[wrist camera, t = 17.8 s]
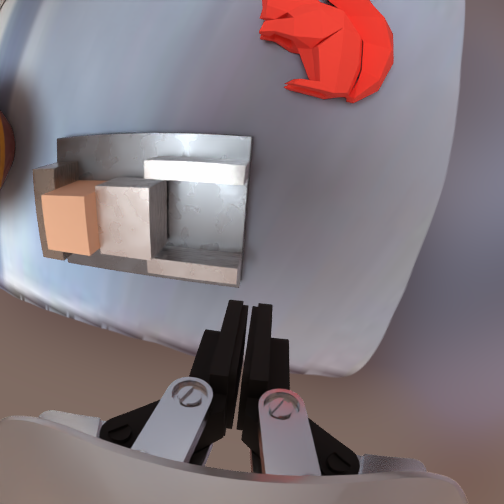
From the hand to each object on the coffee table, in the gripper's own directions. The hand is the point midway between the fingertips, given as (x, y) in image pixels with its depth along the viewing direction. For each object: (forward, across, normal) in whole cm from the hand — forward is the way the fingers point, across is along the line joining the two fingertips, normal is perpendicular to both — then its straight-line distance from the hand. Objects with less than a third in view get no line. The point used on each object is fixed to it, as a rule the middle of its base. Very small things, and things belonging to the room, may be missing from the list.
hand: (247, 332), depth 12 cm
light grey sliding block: (+15, +11, 0) cm, 19 cm away
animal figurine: (+18, -4, -18) cm, 26 cm away
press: (+17, +12, 0) cm, 21 cm away
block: (+16, +16, 0) cm, 23 cm away
